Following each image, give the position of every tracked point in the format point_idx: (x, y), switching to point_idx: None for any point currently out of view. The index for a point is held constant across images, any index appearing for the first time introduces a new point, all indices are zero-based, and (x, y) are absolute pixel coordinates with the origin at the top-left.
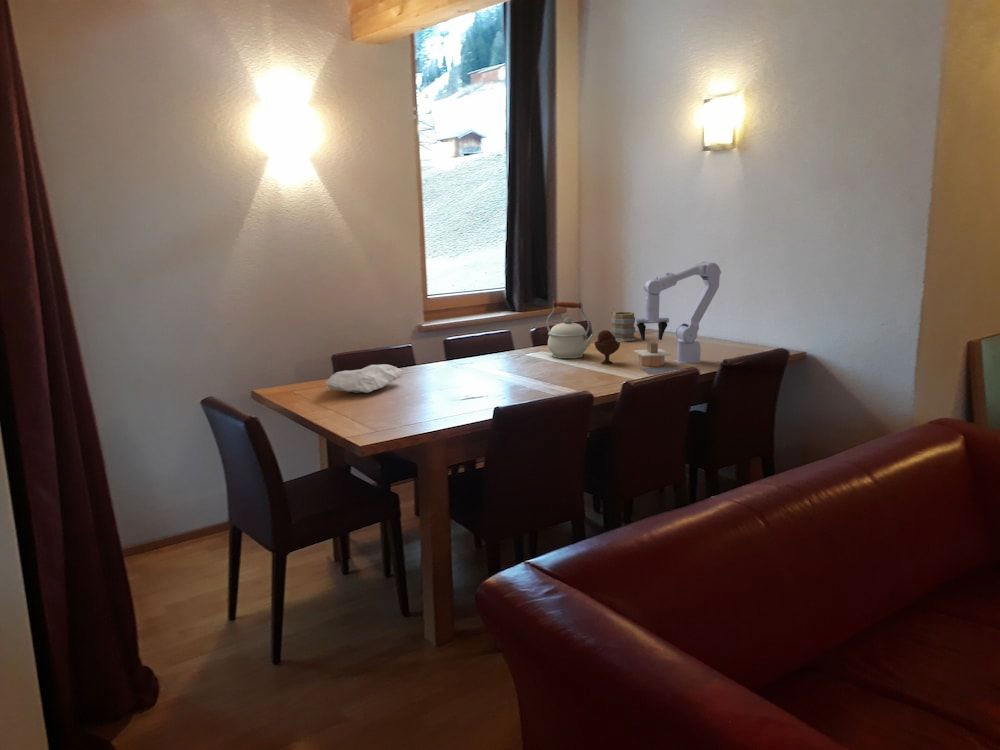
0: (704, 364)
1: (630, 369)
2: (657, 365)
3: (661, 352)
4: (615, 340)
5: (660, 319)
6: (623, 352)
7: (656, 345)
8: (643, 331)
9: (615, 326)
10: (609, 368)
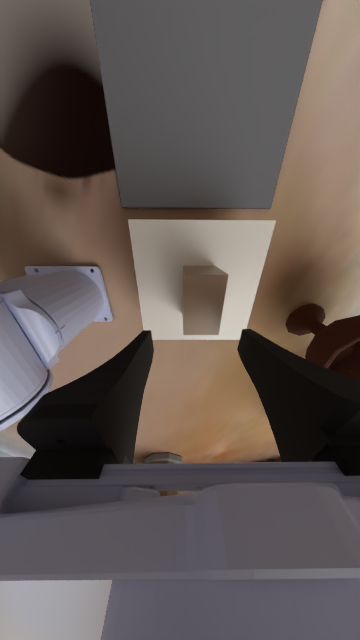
0: (12, 241)
1: (298, 219)
2: None
3: (162, 271)
4: (353, 368)
5: (87, 563)
6: (199, 407)
7: (191, 272)
8: (298, 360)
9: (178, 492)
10: (346, 257)
